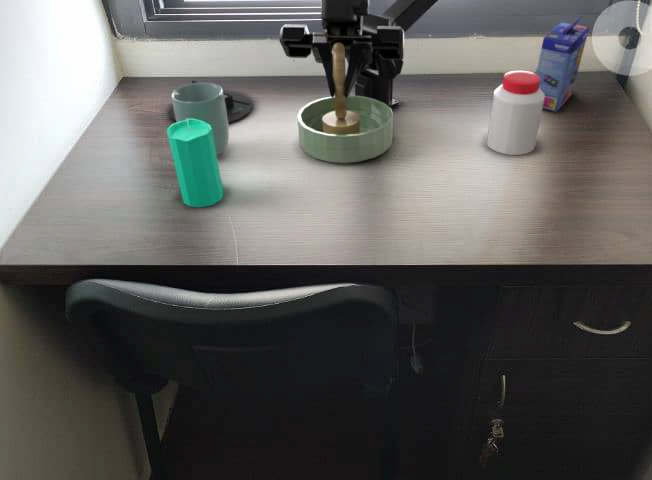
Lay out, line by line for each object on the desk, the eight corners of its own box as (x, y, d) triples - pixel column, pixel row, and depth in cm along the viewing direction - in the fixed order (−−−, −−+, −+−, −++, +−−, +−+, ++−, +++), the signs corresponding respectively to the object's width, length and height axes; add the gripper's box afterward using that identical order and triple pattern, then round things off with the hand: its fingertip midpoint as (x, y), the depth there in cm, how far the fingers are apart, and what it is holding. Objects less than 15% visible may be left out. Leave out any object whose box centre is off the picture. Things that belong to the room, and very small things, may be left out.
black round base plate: (153, 112, 110) (145, 82, 106) (216, 86, 119) (212, 58, 115) (205, 135, 103) (199, 104, 99) (269, 106, 111) (266, 76, 107)
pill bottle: (539, 138, 100) (553, 71, 93) (529, 159, 95) (542, 90, 87) (493, 129, 102) (503, 64, 95) (481, 149, 97) (490, 82, 90)
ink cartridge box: (558, 113, 107) (577, 27, 97) (528, 106, 109) (543, 22, 100) (574, 93, 113) (593, 11, 104) (545, 87, 115) (562, 6, 106)
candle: (184, 186, 90) (167, 109, 82) (225, 184, 90) (211, 107, 83) (179, 208, 86) (160, 129, 78) (222, 206, 86) (207, 127, 78)
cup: (222, 165, 95) (211, 104, 88) (176, 161, 96) (162, 100, 89) (239, 143, 100) (230, 83, 94) (195, 139, 102) (183, 80, 95)
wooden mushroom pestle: (326, 123, 100) (321, 35, 91) (361, 124, 100) (361, 36, 90) (320, 140, 96) (314, 49, 86) (357, 141, 95) (356, 50, 86)
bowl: (348, 115, 108) (347, 87, 104) (410, 143, 99) (412, 114, 96) (281, 143, 100) (278, 114, 97) (342, 176, 92) (341, 146, 88)
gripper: (275, -35, 86) (266, 72, 85) (405, -34, 84) (398, 75, 83) (291, 7, 97) (283, 102, 96) (406, 9, 95) (400, 106, 94)
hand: (338, 96), depth 92 cm, fingers closed on wooden mushroom pestle
